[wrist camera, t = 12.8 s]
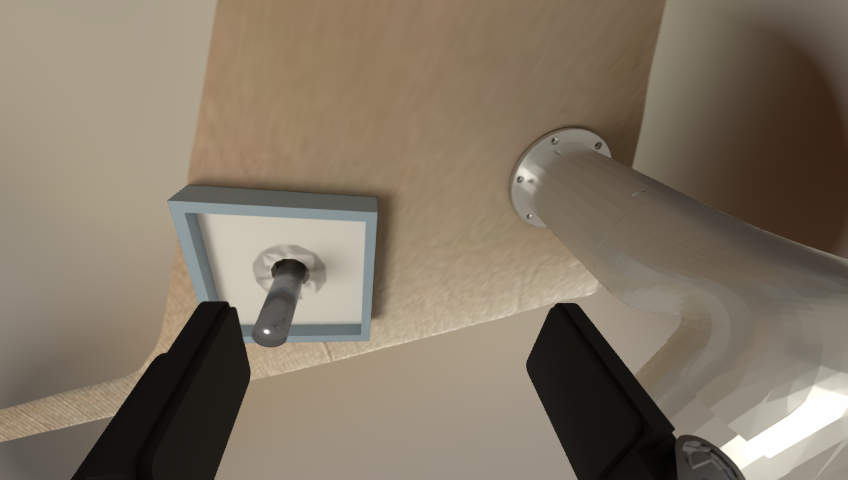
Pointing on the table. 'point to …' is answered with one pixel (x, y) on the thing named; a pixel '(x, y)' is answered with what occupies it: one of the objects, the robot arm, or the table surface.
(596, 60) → the table surface
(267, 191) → the box
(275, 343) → the peg
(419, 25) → the table surface
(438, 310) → the table surface
